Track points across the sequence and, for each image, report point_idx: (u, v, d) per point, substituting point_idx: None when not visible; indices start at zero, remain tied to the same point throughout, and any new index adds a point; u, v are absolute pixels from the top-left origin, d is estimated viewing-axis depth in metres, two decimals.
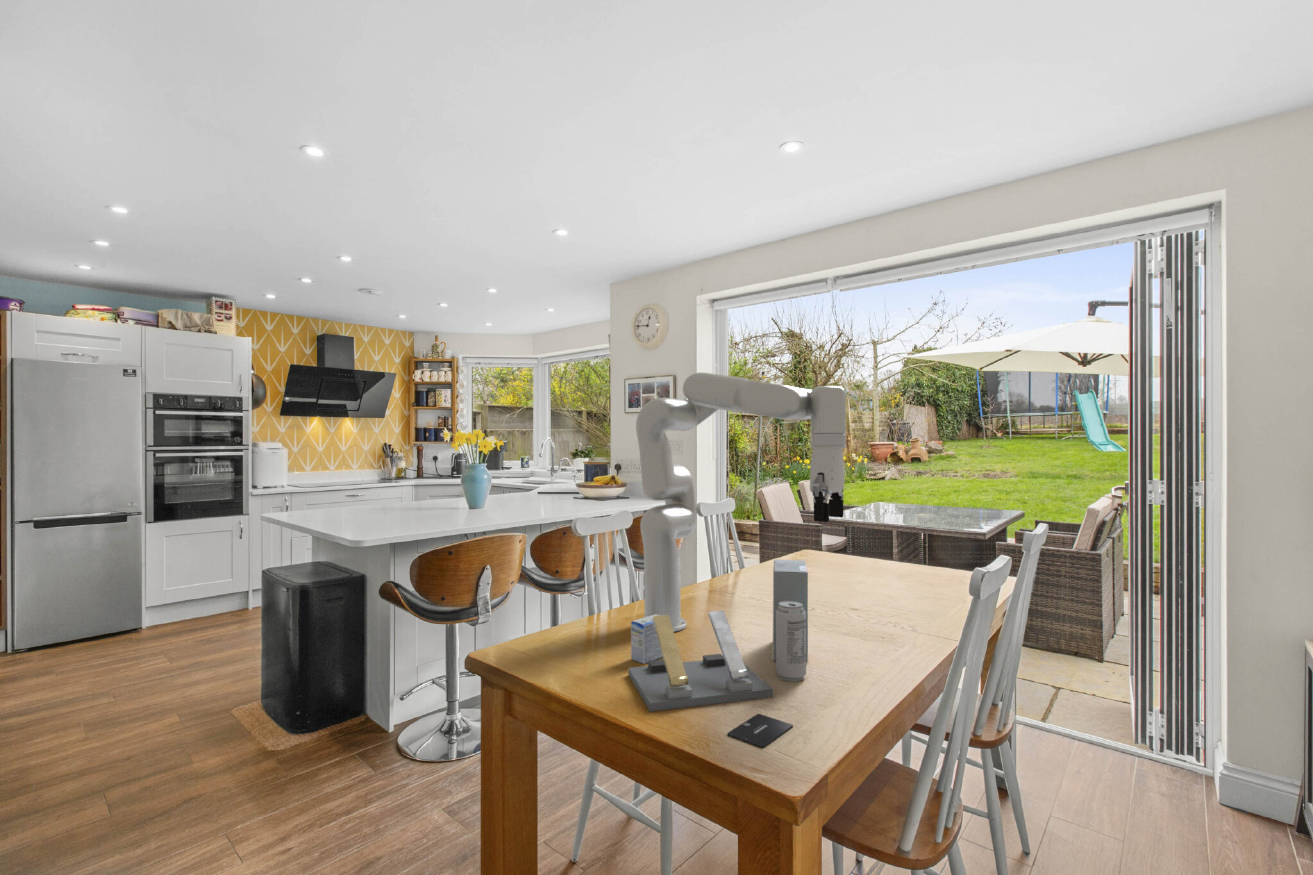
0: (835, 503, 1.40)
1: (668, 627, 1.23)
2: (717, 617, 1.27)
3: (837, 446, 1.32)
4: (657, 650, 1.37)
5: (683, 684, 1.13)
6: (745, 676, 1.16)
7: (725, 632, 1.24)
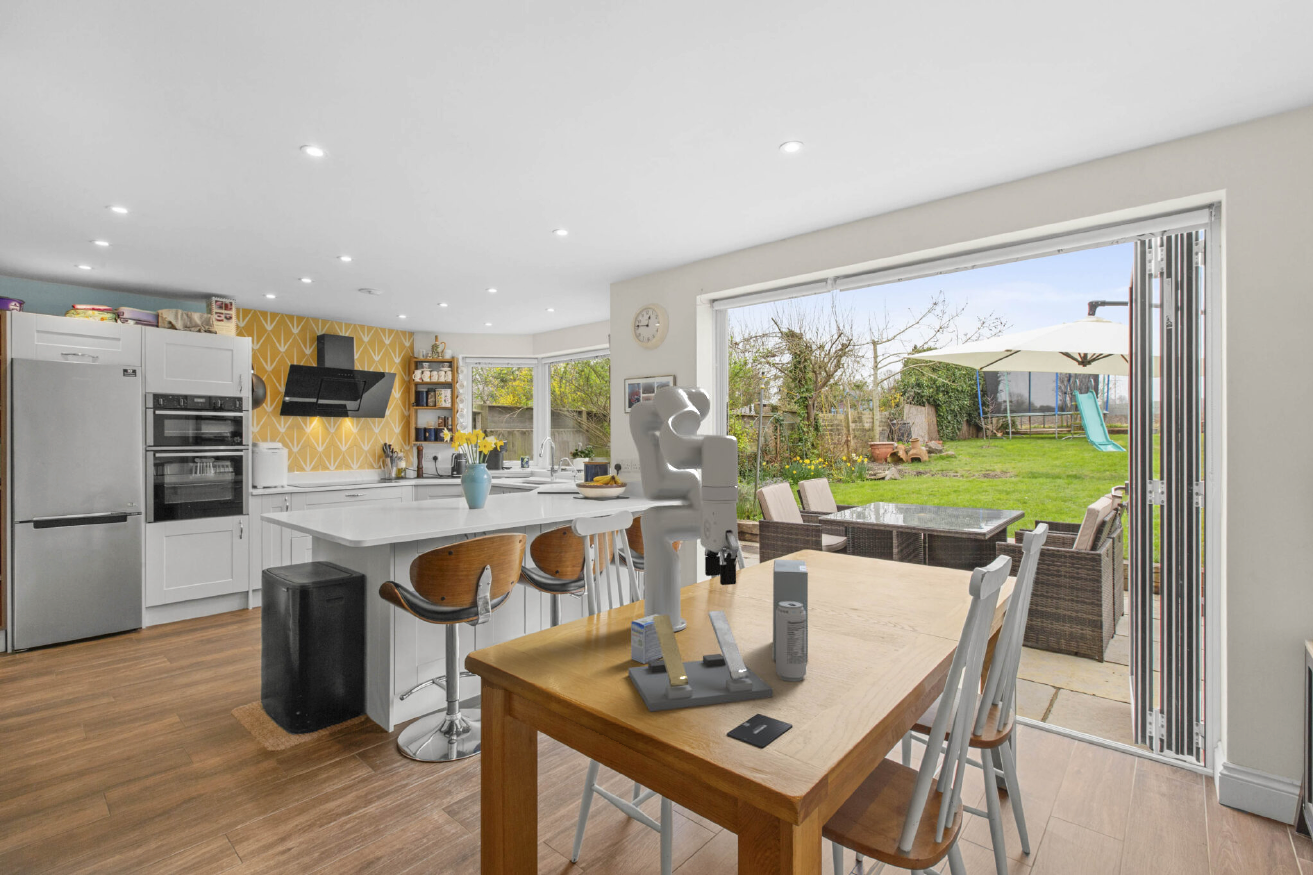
0: (713, 561, 1.30)
1: (668, 627, 1.23)
2: (717, 617, 1.27)
3: (736, 499, 1.25)
4: (657, 650, 1.37)
5: (683, 684, 1.13)
6: (745, 676, 1.16)
7: (725, 632, 1.24)
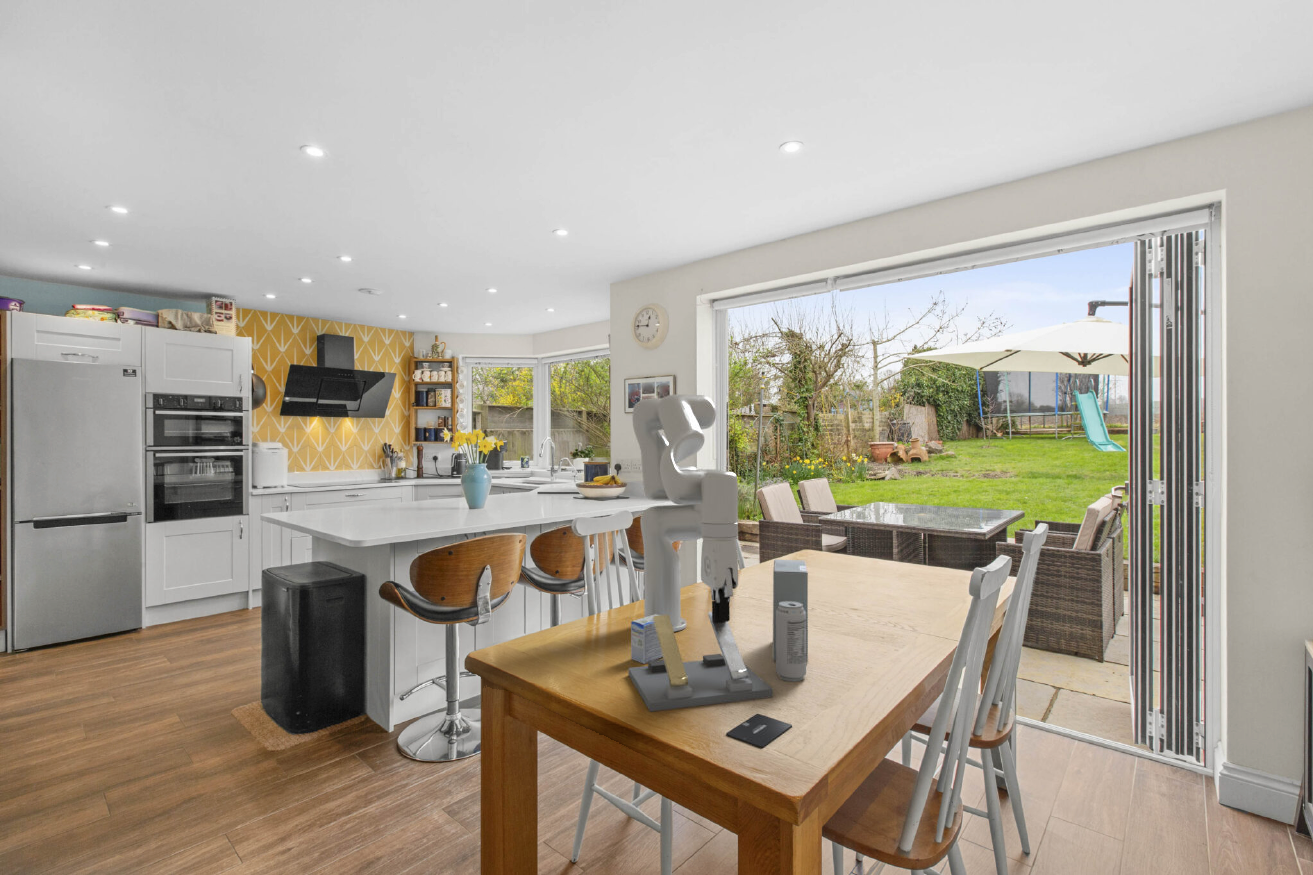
0: None
1: (668, 627, 1.23)
2: None
3: (737, 536, 1.25)
4: (657, 650, 1.37)
5: (683, 684, 1.13)
6: (745, 676, 1.16)
7: (725, 632, 1.24)
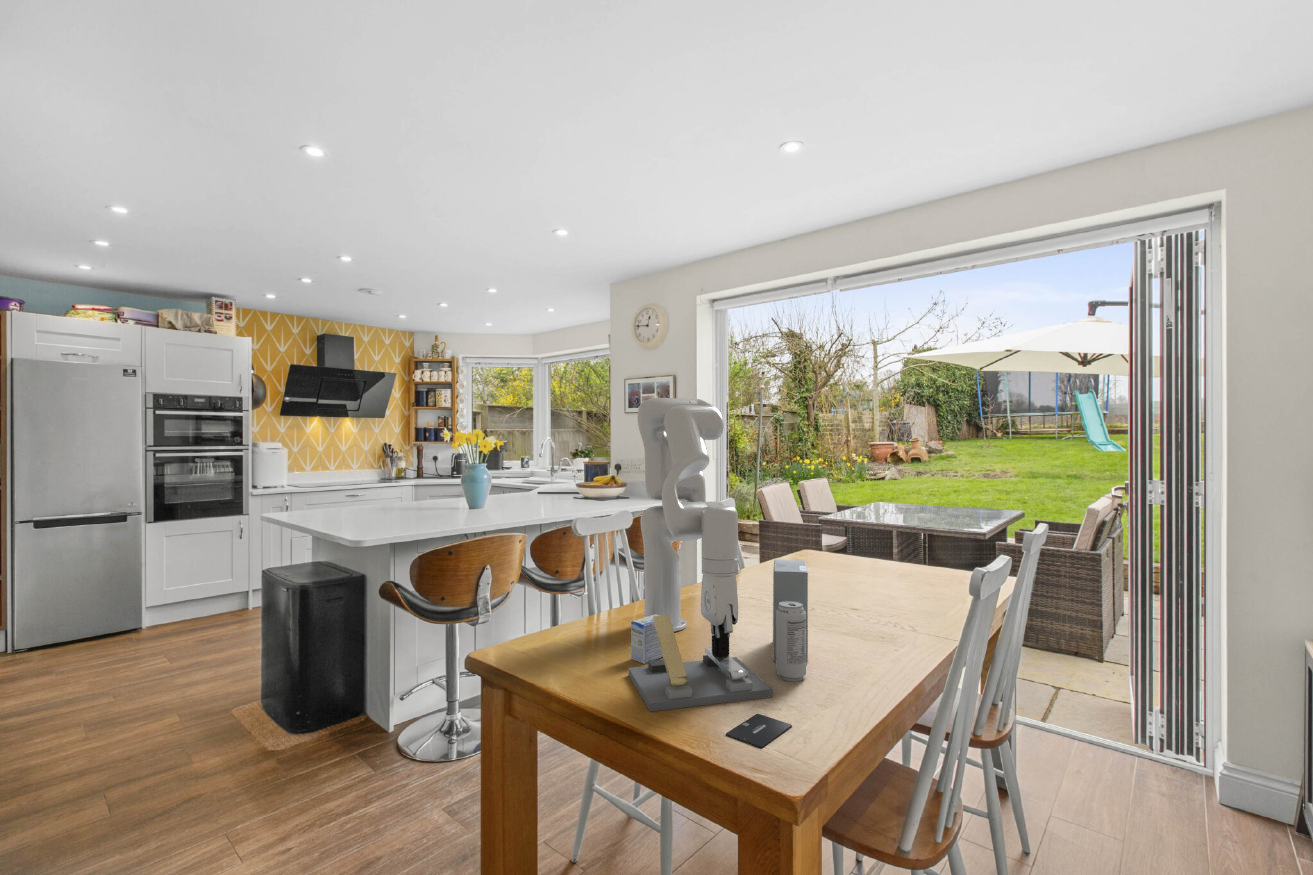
0: None
1: (668, 627, 1.23)
2: None
3: (737, 571, 1.25)
4: (657, 650, 1.37)
5: (683, 684, 1.13)
6: (745, 673, 1.16)
7: None
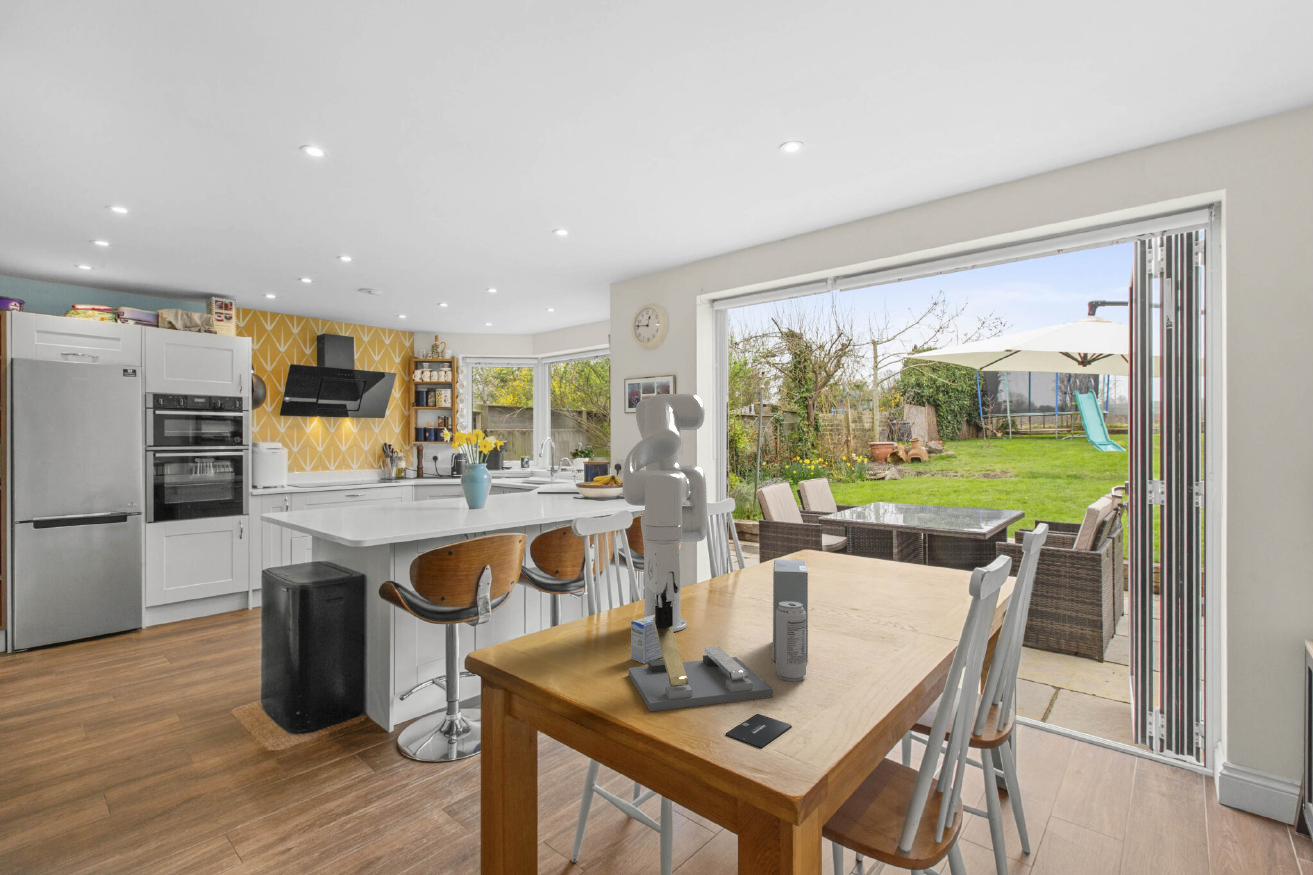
0: None
1: (668, 628, 1.23)
2: (712, 649, 1.29)
3: (680, 539, 1.21)
4: (657, 650, 1.37)
5: (683, 684, 1.13)
6: (745, 673, 1.16)
7: (722, 655, 1.26)
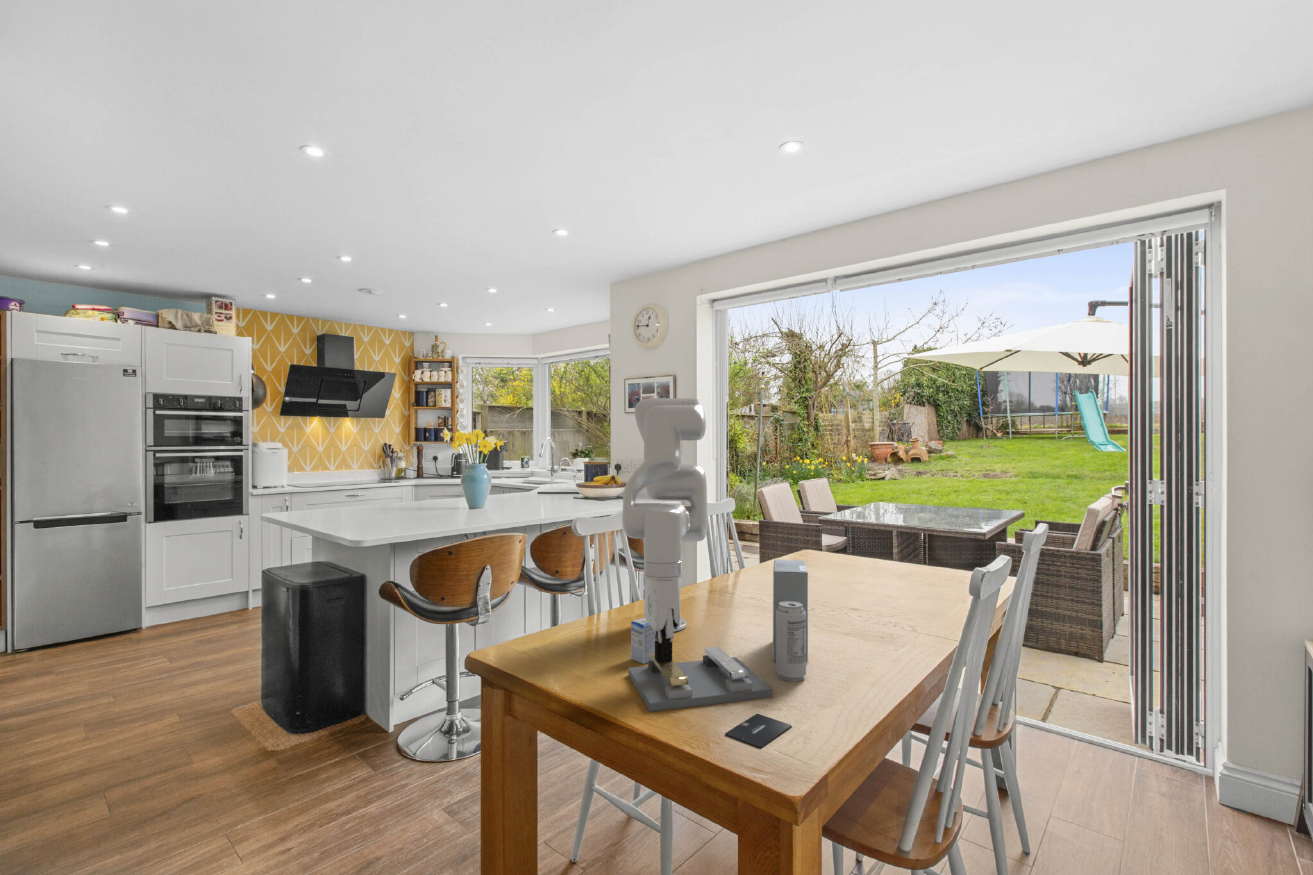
0: None
1: None
2: (712, 649, 1.29)
3: (680, 575, 1.21)
4: None
5: (683, 682, 1.13)
6: (745, 673, 1.16)
7: (722, 655, 1.26)
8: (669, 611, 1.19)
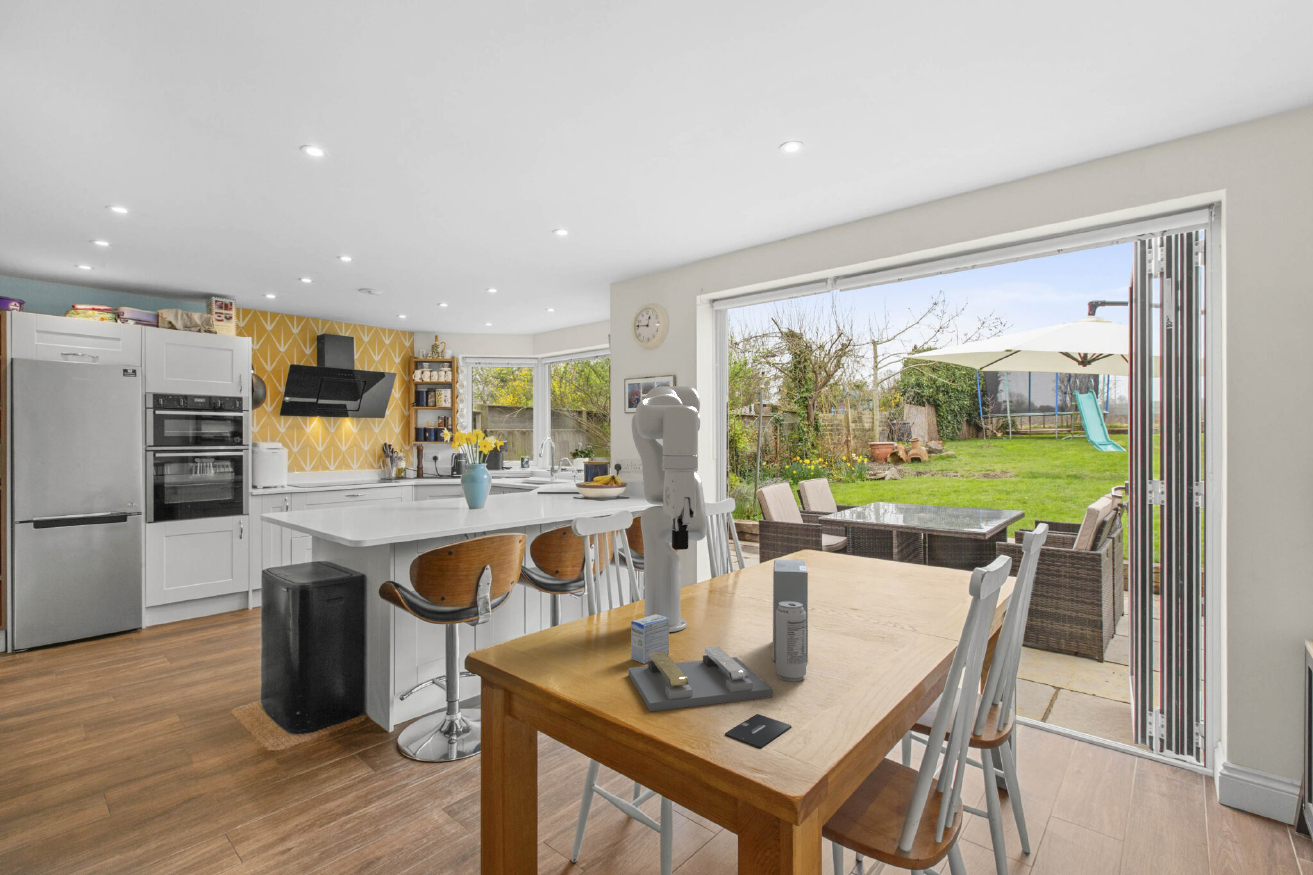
0: None
1: (665, 656, 1.25)
2: (712, 649, 1.29)
3: (696, 468, 1.29)
4: (657, 650, 1.37)
5: (683, 682, 1.13)
6: (745, 673, 1.16)
7: (722, 655, 1.26)
8: (686, 500, 1.27)
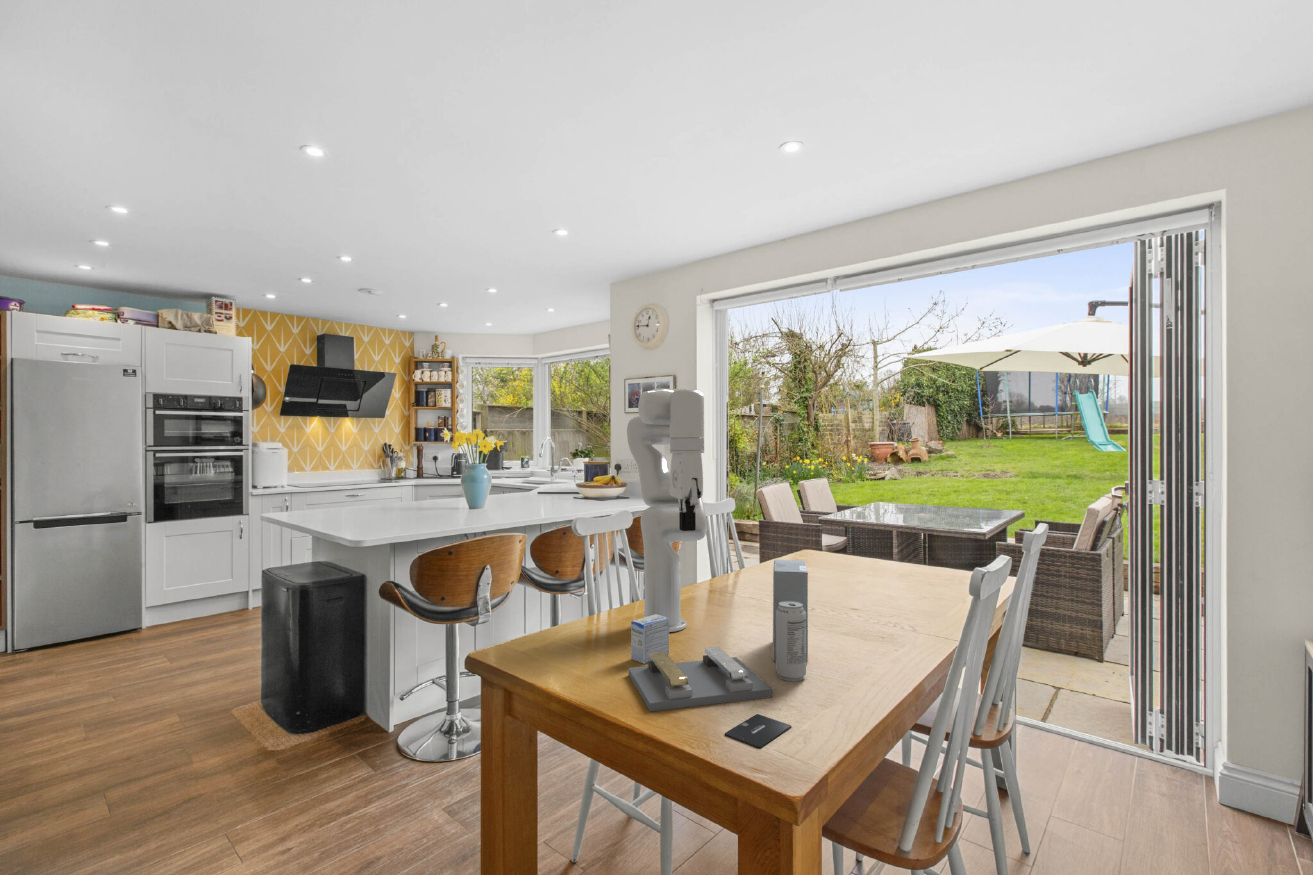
0: None
1: (665, 656, 1.25)
2: (712, 649, 1.29)
3: (702, 450, 1.33)
4: (657, 650, 1.37)
5: (683, 682, 1.13)
6: (745, 673, 1.16)
7: (722, 655, 1.26)
8: (693, 481, 1.30)
